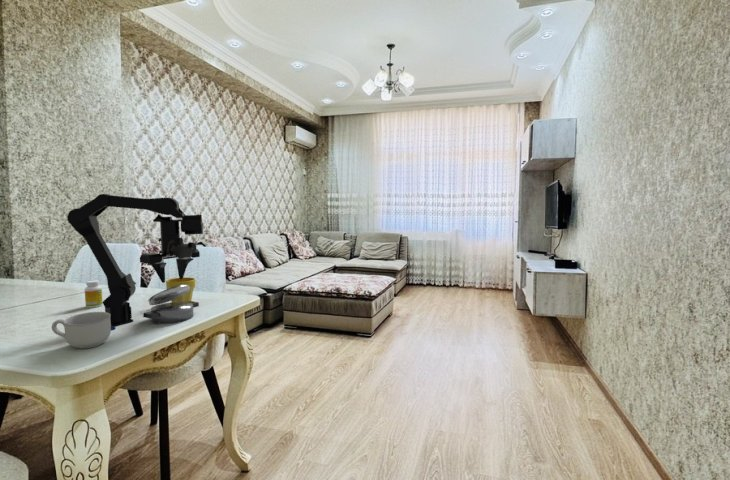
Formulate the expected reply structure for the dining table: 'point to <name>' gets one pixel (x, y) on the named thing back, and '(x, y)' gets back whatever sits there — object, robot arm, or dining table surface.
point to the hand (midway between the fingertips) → (172, 280)
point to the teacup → (85, 329)
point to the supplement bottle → (93, 294)
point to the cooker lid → (169, 294)
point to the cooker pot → (171, 312)
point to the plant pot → (184, 281)
